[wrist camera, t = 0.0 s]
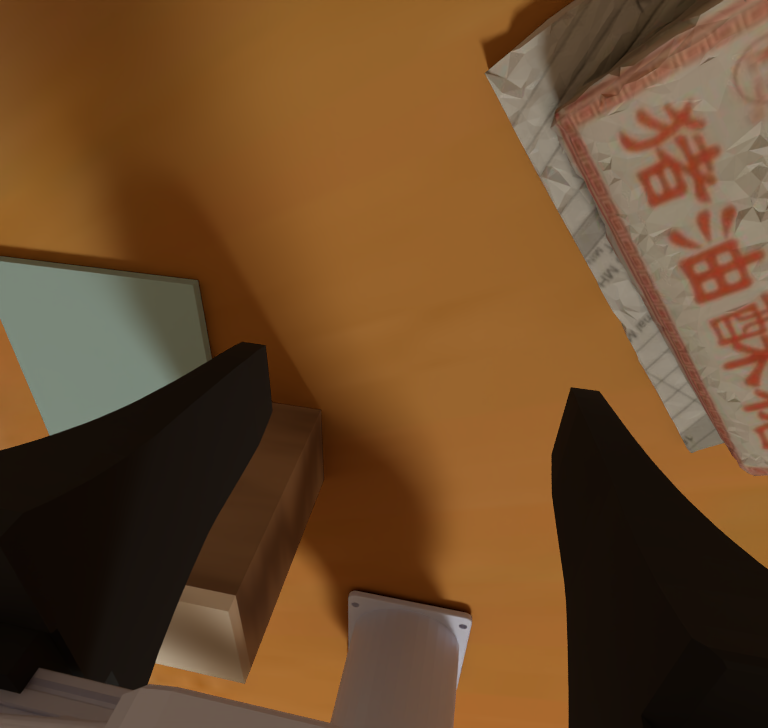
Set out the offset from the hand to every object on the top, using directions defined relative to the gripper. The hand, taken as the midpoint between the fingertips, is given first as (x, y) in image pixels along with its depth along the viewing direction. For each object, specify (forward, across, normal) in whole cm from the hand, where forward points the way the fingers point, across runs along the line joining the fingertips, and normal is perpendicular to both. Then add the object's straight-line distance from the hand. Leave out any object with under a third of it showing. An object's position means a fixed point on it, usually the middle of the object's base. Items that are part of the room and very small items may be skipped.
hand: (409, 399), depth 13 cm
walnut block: (+10, +8, +12) cm, 18 cm away
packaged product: (+11, -10, -2) cm, 15 cm away
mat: (+10, +16, +11) cm, 22 cm away
